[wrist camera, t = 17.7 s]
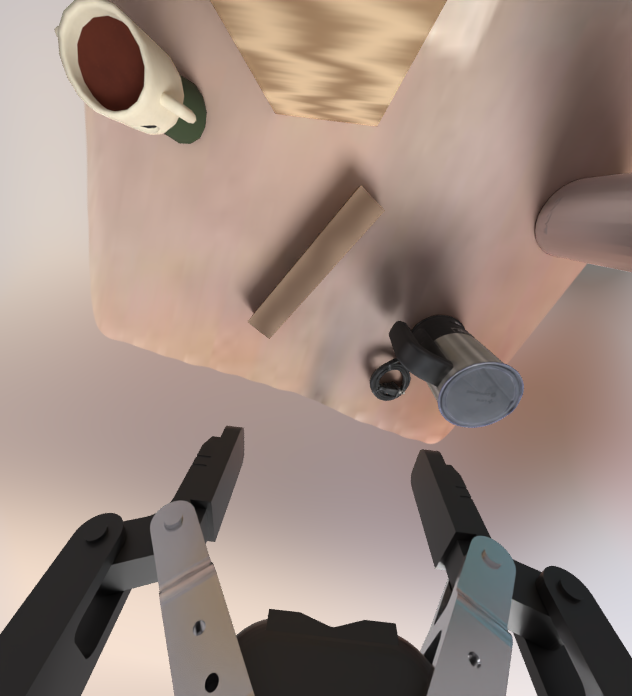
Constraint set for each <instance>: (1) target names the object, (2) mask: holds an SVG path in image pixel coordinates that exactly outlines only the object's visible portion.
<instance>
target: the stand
mask: <svg viewBox="0 0 632 696" xmlns="http://www.w3.org/2000/svg"><path fill="white" fill-rule="evenodd" d="M210 1H211V3H212V4H213V6H214V8H215V10H216V11H217V13H218V15H219V17H220V18H221V20H222V22H223V23H224V25H225V27H226V29H227V30H228V32H229V34H230V36H231V37H232V39H233V41H234V43H235V44H236V46H237V48H238V49H239V51H240V53H241V55H242V56H243V58H244V60H245V62H246V63H247V65H248V67H249V69H250V70H251V72H252V74H253V75H254V77H255V79H256V81H257V82H258V84H259V86H260V88H261V89H262V91H263V93H264V95H265V96H266V98H267V100H268V101H269V103H270V105H271V107H272V108H273V110H274V112H275V114H282V115H290V116H298V117H306V118H314V119H322V120H330V121H338V122H346V123H354V124H362V125H370V126H377V125H378V124H379V122H380V120H381V118H382V116H383V115H384V113H385V111H386V109H387V107H388V106H389V104H390V102H391V100H392V98H393V97H394V95H395V93H396V91H397V89H398V88H399V86H400V84H401V82H402V80H403V79H404V77H405V75H406V73H407V71H408V70H409V68H410V66H411V64H412V62H413V61H414V59H415V57H416V55H417V53H418V52H419V50H420V48H421V46H422V44H423V43H424V41H425V39H426V37H427V35H428V34H429V32H430V30H431V28H432V26H433V25H434V23H435V21H436V19H437V17H438V16H439V14H440V12H441V10H442V8H443V7H444V5H445V3H446V1H447V0H210Z"/></svg>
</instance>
